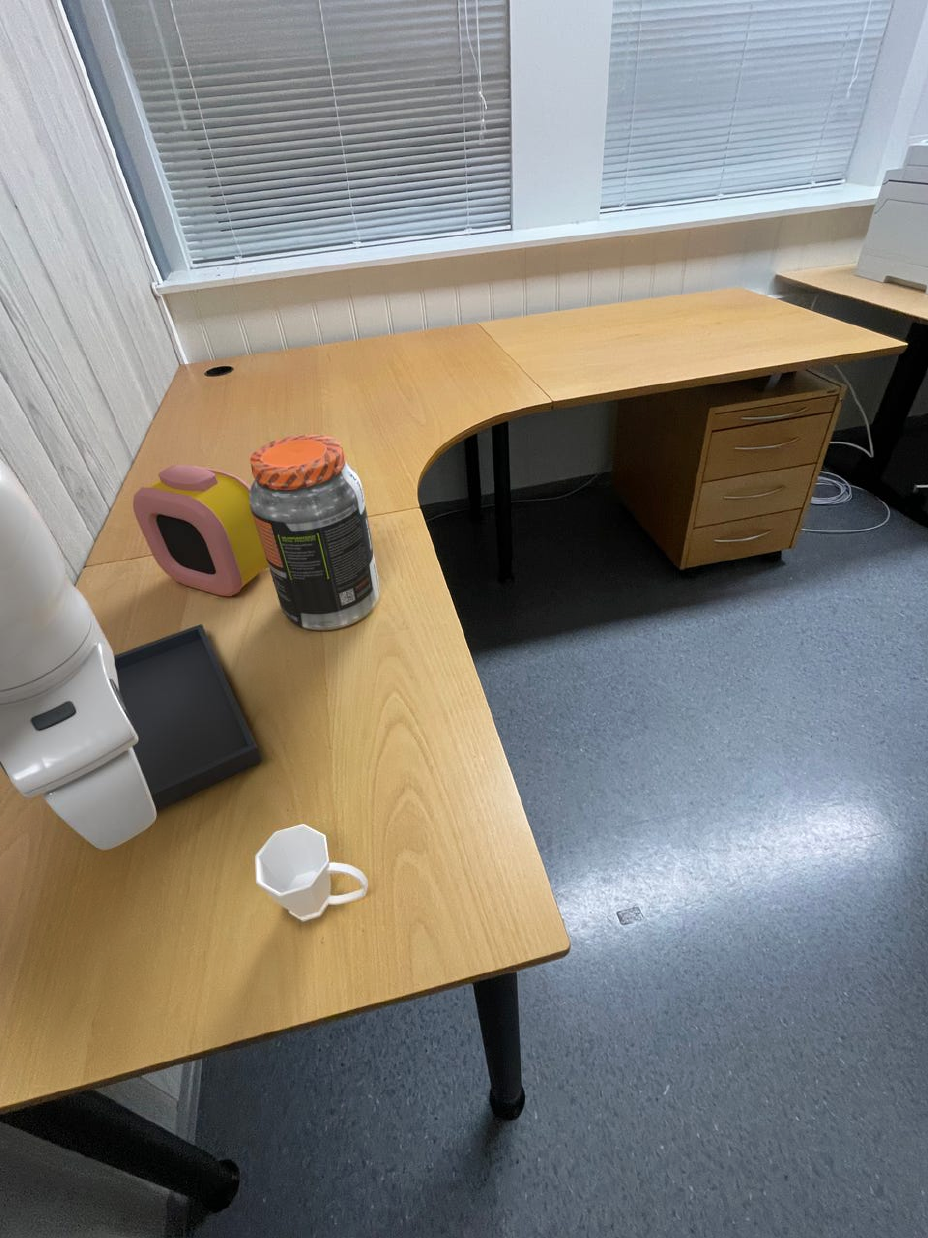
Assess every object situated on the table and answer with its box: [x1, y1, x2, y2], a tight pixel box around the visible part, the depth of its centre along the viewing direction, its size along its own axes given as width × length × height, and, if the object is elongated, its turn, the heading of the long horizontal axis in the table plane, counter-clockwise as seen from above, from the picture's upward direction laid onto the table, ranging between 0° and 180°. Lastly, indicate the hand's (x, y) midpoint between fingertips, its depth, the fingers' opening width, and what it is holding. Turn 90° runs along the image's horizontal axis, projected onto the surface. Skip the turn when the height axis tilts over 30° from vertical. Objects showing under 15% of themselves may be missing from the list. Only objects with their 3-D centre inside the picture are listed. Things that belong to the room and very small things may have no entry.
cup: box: [254, 823, 369, 922], centre depth 57 cm, size 7×10×8 cm
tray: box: [114, 623, 263, 812], centre depth 78 cm, size 28×19×3 cm
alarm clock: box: [132, 464, 269, 597], centre depth 98 cm, size 18×11×19 cm, turn 65°
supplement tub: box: [249, 434, 380, 631], centre depth 89 cm, size 16×16×26 cm
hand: (103, 767), depth 48 cm, fingers open, 8 cm apart
